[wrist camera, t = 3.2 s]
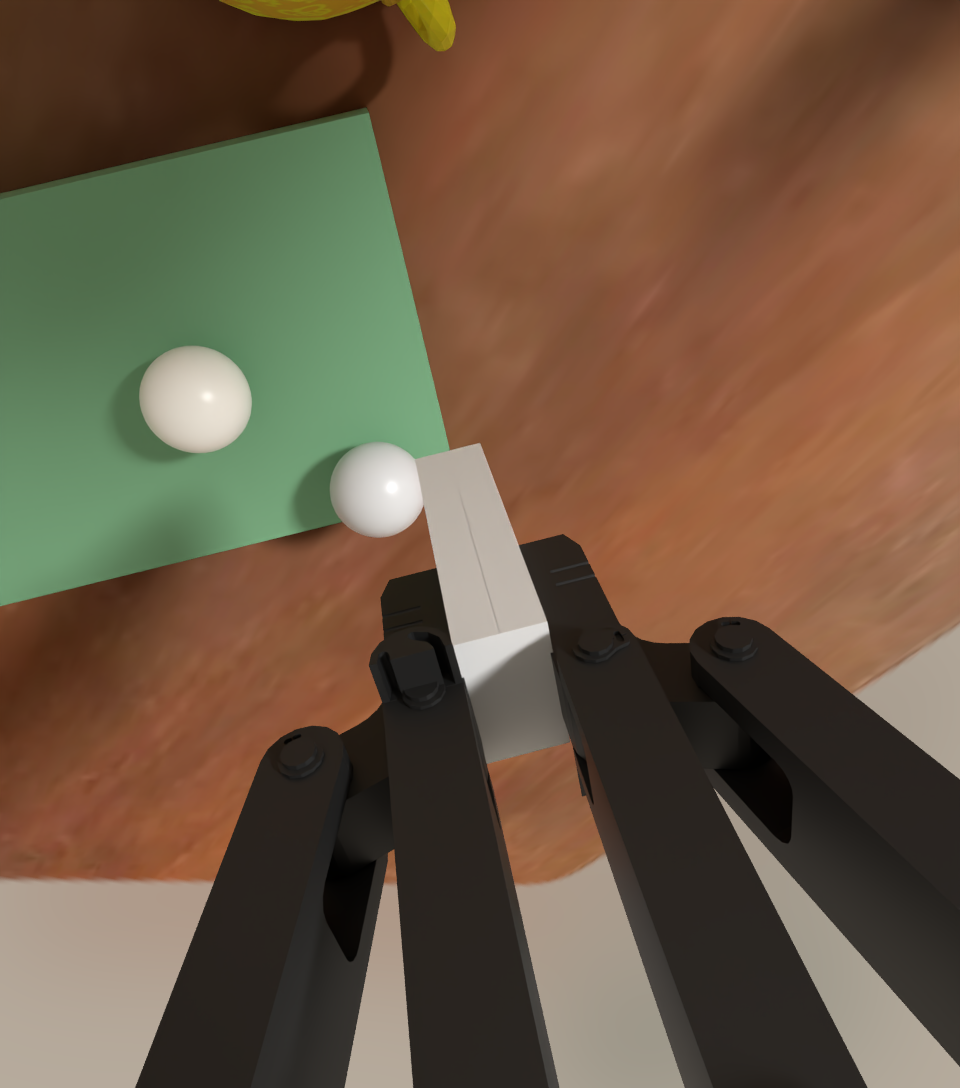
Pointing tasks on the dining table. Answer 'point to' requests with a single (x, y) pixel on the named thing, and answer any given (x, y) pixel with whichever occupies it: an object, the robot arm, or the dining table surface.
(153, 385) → the ball
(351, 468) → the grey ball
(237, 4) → the mug
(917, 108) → the dining table surface
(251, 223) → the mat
